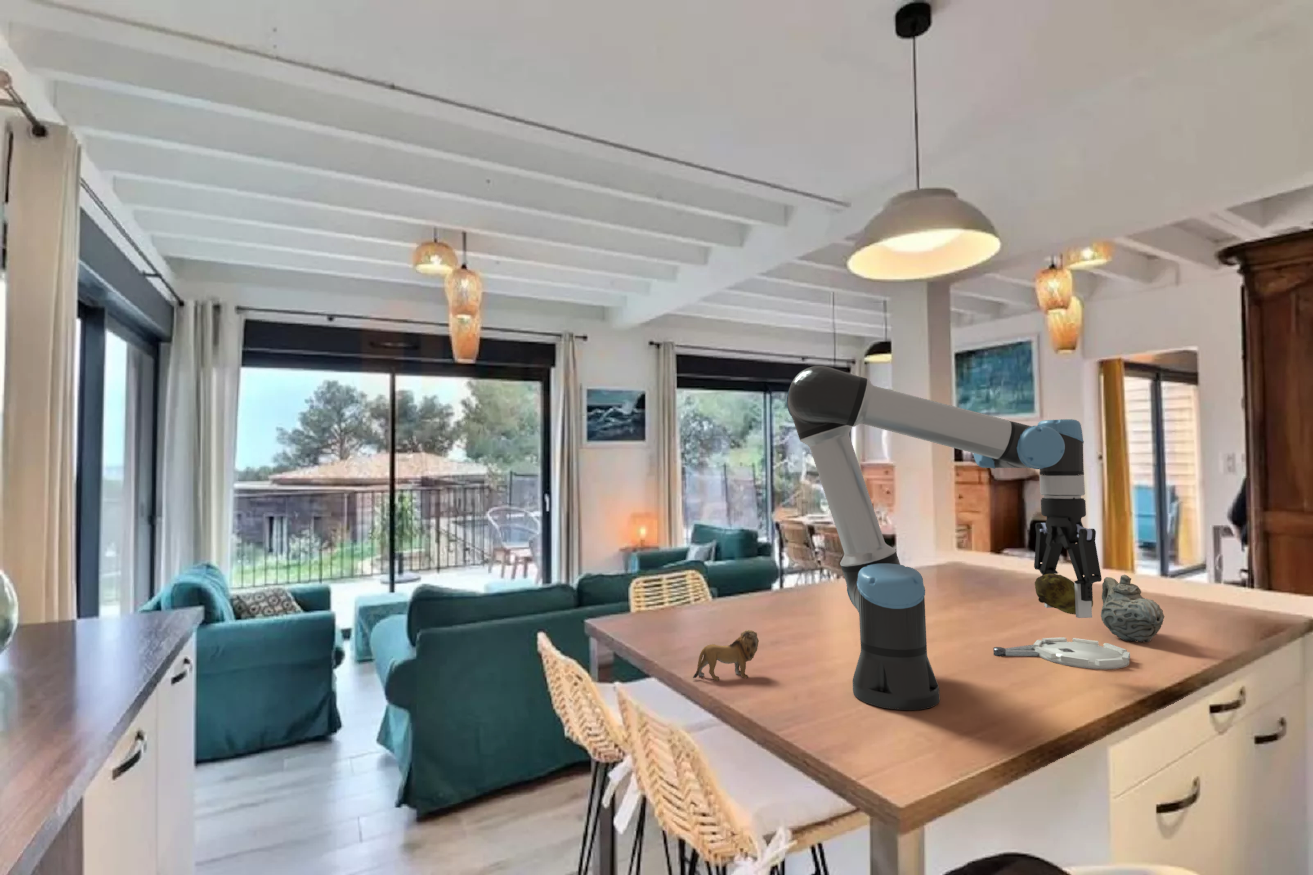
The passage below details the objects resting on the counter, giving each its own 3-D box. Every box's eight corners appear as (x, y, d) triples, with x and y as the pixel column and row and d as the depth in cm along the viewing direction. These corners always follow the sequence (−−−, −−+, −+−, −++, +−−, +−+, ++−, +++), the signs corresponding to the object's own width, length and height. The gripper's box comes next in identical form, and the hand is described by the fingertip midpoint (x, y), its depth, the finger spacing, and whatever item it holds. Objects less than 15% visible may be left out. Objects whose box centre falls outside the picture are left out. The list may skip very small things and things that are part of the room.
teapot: (1187, 652, 138) (1183, 583, 138) (1129, 651, 140) (1125, 582, 140) (1130, 627, 159) (1126, 567, 159) (1080, 626, 161) (1077, 567, 161)
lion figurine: (753, 668, 135) (752, 626, 135) (764, 676, 130) (763, 632, 130) (688, 676, 131) (687, 633, 131) (697, 685, 126) (696, 639, 126)
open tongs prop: (1007, 661, 135) (1007, 654, 135) (982, 649, 144) (982, 643, 144) (1078, 657, 136) (1078, 651, 136) (1049, 645, 145) (1048, 639, 145)
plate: (1072, 671, 128) (1071, 662, 128) (1018, 647, 144) (1017, 639, 145) (1150, 667, 129) (1150, 658, 129) (1088, 643, 146) (1087, 636, 146)
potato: (1114, 617, 121) (1112, 575, 121) (1052, 620, 120) (1050, 577, 120) (1080, 607, 129) (1079, 568, 130) (1022, 610, 128) (1020, 570, 128)
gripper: (1122, 499, 115) (1128, 624, 114) (1044, 494, 136) (1049, 600, 135) (1083, 500, 115) (1089, 626, 114) (1011, 494, 136) (1015, 601, 135)
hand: (1067, 611), depth 125 cm, fingers closed on potato, 8 cm apart
